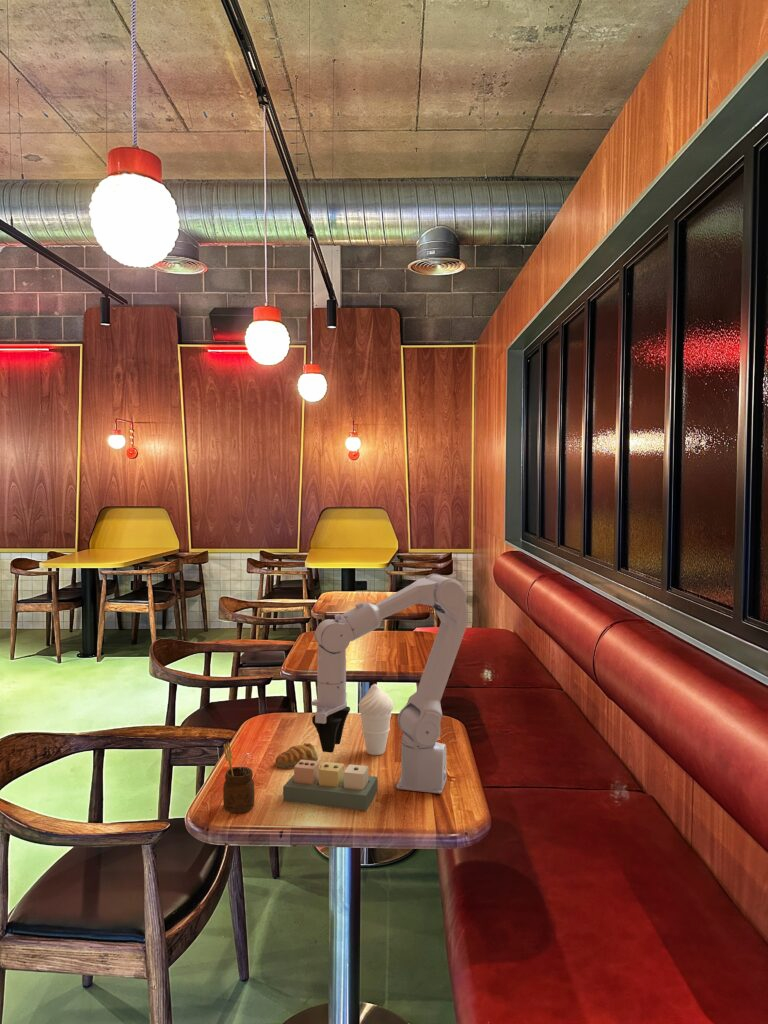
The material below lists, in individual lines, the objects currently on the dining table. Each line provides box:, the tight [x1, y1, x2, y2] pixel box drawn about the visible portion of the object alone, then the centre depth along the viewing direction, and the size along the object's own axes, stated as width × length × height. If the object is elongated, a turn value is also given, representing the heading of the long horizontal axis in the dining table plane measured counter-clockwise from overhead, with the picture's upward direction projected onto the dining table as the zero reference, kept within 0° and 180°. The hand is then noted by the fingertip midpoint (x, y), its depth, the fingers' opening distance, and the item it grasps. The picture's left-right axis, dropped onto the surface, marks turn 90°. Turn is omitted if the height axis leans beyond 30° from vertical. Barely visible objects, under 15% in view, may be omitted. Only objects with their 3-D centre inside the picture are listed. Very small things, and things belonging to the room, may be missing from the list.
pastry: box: [274, 742, 319, 769], centre depth 156 cm, size 9×7×4 cm
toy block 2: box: [319, 761, 345, 787], centre depth 139 cm, size 4×4×5 cm
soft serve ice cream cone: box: [357, 683, 395, 756], centre depth 162 cm, size 8×8×16 cm
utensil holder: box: [222, 741, 255, 814], centre depth 133 cm, size 6×6×12 cm
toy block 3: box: [344, 764, 369, 790], centre depth 137 cm, size 4×4×5 cm
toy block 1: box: [293, 760, 320, 785], centre depth 140 cm, size 4×4×5 cm
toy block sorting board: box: [282, 774, 379, 812], centre depth 139 cm, size 17×9×3 cm, turn 77°
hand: (331, 747), depth 138 cm, fingers open, 4 cm apart
